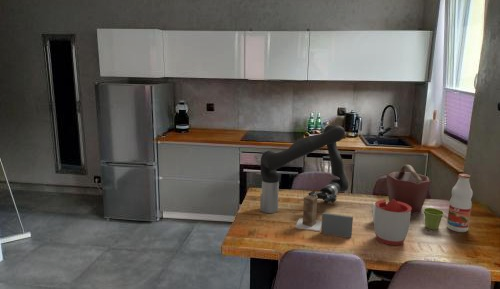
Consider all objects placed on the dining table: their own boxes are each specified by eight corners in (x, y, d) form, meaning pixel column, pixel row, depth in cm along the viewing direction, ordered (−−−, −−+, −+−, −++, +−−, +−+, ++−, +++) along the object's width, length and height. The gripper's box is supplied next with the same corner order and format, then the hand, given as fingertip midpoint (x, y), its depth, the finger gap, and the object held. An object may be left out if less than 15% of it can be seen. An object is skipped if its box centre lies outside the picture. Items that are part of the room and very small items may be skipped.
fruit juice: (471, 229, 184) (479, 175, 179) (462, 234, 179) (470, 178, 173) (451, 223, 191) (458, 171, 186) (443, 227, 186) (450, 174, 180)
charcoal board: (321, 233, 176) (322, 213, 175) (321, 232, 178) (322, 212, 176) (351, 237, 172) (352, 217, 170) (351, 236, 174) (353, 216, 172)
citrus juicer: (404, 233, 178) (408, 194, 174) (411, 249, 162) (415, 206, 158) (370, 229, 182) (373, 191, 178) (373, 245, 165) (377, 203, 161)
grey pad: (295, 227, 182) (295, 226, 182) (299, 218, 193) (299, 217, 193) (319, 231, 178) (319, 230, 178) (322, 222, 190) (322, 221, 190)
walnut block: (302, 224, 185) (303, 197, 182) (306, 221, 189) (308, 195, 186) (311, 226, 182) (313, 199, 180) (315, 223, 187) (317, 197, 184)
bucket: (427, 218, 197) (432, 173, 193) (383, 212, 205) (388, 168, 200) (423, 203, 220) (428, 162, 215) (384, 198, 227) (387, 159, 223)
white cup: (388, 226, 186) (390, 207, 184) (372, 224, 188) (374, 206, 186) (386, 220, 194) (388, 202, 192) (370, 219, 195) (372, 201, 193)
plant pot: (440, 225, 189) (442, 209, 187) (443, 232, 180) (445, 215, 178) (420, 222, 192) (422, 206, 190) (422, 229, 183) (424, 213, 181)
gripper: (317, 183, 207) (304, 191, 194) (341, 188, 200) (330, 196, 186) (316, 196, 209) (304, 204, 195) (340, 201, 201) (329, 210, 188)
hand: (317, 200), depth 191 cm, fingers open, 8 cm apart
